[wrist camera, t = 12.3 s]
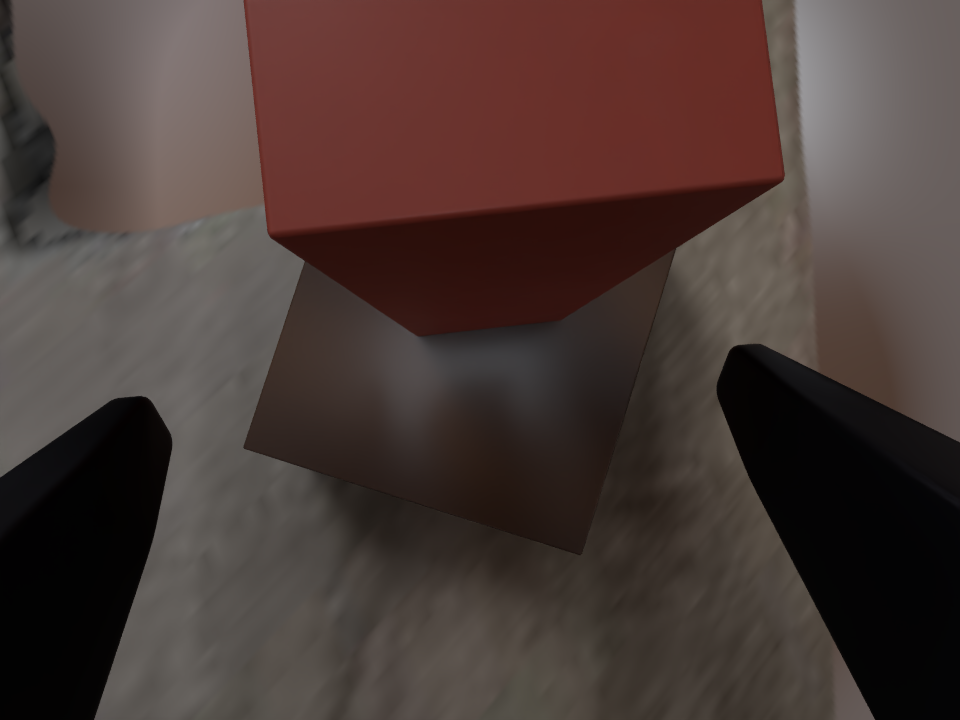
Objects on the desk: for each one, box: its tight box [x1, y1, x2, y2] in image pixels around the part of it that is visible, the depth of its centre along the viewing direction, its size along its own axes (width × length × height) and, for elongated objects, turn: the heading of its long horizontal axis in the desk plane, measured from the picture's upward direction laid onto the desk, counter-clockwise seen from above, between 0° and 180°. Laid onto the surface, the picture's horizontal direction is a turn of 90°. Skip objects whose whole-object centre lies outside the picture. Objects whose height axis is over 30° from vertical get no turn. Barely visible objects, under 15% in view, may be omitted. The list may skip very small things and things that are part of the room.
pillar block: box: [244, 0, 785, 336], centre depth 11 cm, size 5×5×12 cm
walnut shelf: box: [244, 248, 676, 555], centre depth 20 cm, size 13×12×4 cm
